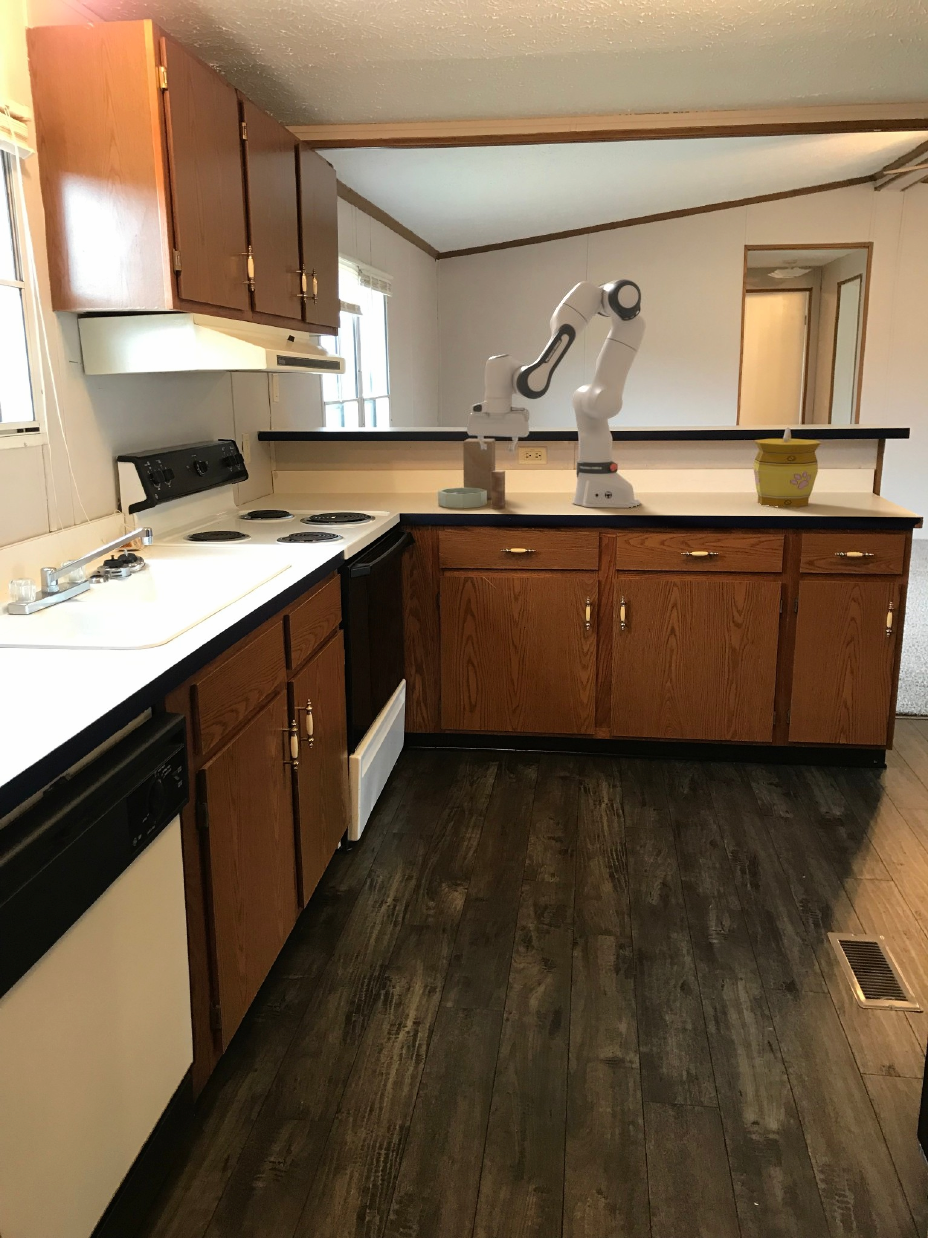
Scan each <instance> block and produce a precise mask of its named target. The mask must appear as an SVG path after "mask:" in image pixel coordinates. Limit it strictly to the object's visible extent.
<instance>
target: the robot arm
mask: <svg viewBox="0 0 928 1238" xmlns="http://www.w3.org/2000/svg"><path fill="white" fill-rule="evenodd" d="M641 303H642V293H641V288H640V287H639V285H638V284H636V283H635V281H632V280H629V279H616V280H615V279H614V280H611V281H610V282H606V283H602V284H600V285H598V286H597V285H596V284H595V283H593V282H591V281H587V280H583V281H580V282H579V283H577V284H576V285H575V286H574V287H573V288H572V289H571V290H570V291H569V292H568V293H567V294H566V296H564V298H563V299H562V300H561V302H560V303H559V304H558V306H557V307H556V309H555V310H554V312H553V313H552V316H551V317H550V321H549V329H550V331H551V337H550V339H549V341H548V343H547V344H546V346H545V348H544V349H543V351H541V353H540V355H539V357H538V358H537V360H535V362H533V363H531V364H530V365H527V364H525V363H522V362H520V361H518V360H516V359H515V358H513V357H512V356H511V355H510V354H509V353H508V354H507V353H506V354H499V355H498V354H497V355H493V356H491V357H489V358H488V359H487V360H486V364H485V368H484V386H485V393H484V401H482V402H478V403H476V404H472V405H471V406H470V407H469V410H470V414H469V415H468V418H467V425H466V432H467V434H468V436H476V437H477V439H478V441H479V443H480V444H481V450H487V444H484V442H483V440H482V439H485V438H484V437H507V438H509V437H510V438H511V440H512V442H511V444H509V445H508V452H514V451H515V449H516V448H515V446H516V444H517V443H518V441H519V438H526V437H528V435H530V426H529V420H530V412H529V410H528V409H527V408H526V407H516V406H515V407H513V395H515V394H516V395H517V396H521V397H524V398H527V399H529V400H537V399H539V398H542V397H544V396H545V395H546V393H548V391H549V388H550V385H551V382H552V381H551V380H552V377H553V375H554V373H555V370H556V369H557V368H558V366H559V365H560V364H561V362H562V360H563V358H564V357H565V355H566V354H567V352H568V351H569V349H570V347H571V346H572V345H573V344H574V343H575V342H576V340H577V338H579V337H580V335H581V334H582V332H583V331H584V330H585V329H586V328H587V326H588V325H589V324H590V323H591V321H592V319H593V318H594V317H595V316H596V315H599V316H602V317H606V318H610V319H611V325H610V330H609V332H608V334H607V336H606V339H605V340H604V343H603V345H602V347H601V350H600V352H599V354H598V356H597V358H596V361H595V371H594V377H593V380H592V383H586V384H583V385H582V386H579V388H577V389H576V390H575V391H574V393H573V394H572V398H571V404H572V407H573V409H574V414H575V422H576V427H577V434H578V456H577V457H578V459H577V461H576V467H575V468H576V473H575V474H576V479H577V480H576V486H575V493H574V497H573V500H572V504H575V505H578V506H583V507H584V508H617V509H618V508H625V509H626V508H627V509H628V508H629V507H631V508H634V507H633V506H636V507H638V506H637V505H639V504H640V503H641V500H640V499H638V498H635V493H634V492H635V491H634V487H633V485H632V483H630V482H629V481H628V480H626V479H625V478H624V477H623V476H622V475H620V474H619V473H618V467H619V464H618V462H617V463H616V462H615V461H613V458H612V457H613V456H612V455H613V436H612V433H611V430H610V426H609V419H611V418H614V417H615V416H617V415H618V414H619V413H620V411H621V410H622V407H623V393H624V389H625V385H626V381H627V377H628V374H629V372H630V369H631V367H632V364H633V363H634V361H635V358H636V356H637V354H638V351H639V349H640V347H641V344H642V341H643V338H644V335H645V330H646V327H647V326H646V320H645V318H643V316H641V315H640V313H641V310H642V309H641ZM640 505H641V504H640ZM640 505H639V506H640Z"/></svg>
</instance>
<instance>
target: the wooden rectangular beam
mask: <svg viewBox="0 0 928 1238" xmlns="http://www.w3.org/2000/svg"><path fill="white" fill-rule="evenodd" d="M505 508H506V471H505V470H495V471H493V472H492V499H491V509H492V510H493V509H494V510H503V509H505Z"/></svg>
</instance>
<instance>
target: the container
mask: <svg viewBox="0 0 928 1238" xmlns="http://www.w3.org/2000/svg"><path fill="white" fill-rule="evenodd" d="M754 442H755V444H756V447H757V448H758V452H757V454H756V456H755V459H754V464H753V467H752V468H753V475H754V479H755V480H754V481H755V488H756V493H757V503H758V504H759V503H760V504H761V505H769V506H778V507H796V509H798V508H803V506H804V507H807V506H809V500H810V499H809V498H810V496H811V494H812V492H813V488H814V485H815V481H816V478H817V476H818V472H819V469H818V468H819V467H818V464H819V463H818V459H817V456H816V455H817V454H816V451H817V449H818V448H819V446H820V445H821V444H822V442H821V441H818V440H816V439H815V440H814V439H801V438H792V434H791V428H790V427H786V428H785V430H784V435H783V437H782V438H765V439H755V440H754ZM760 504H759V505H760ZM761 505H760V506H761ZM769 506H768V507H769Z"/></svg>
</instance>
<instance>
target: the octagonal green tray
mask: <svg viewBox="0 0 928 1238" xmlns="http://www.w3.org/2000/svg"><path fill="white" fill-rule="evenodd" d="M455 492H470V493H468V494H455ZM487 501H488V499H487V490H484V489H480V488H464V487H462V486H461V487H450V488H448V487H447V488H442V489H440V490H438V491H437V502H438V503H437V505H438V506H440V507H444V508H452V509H453V508H454V509H455V508H456V509H469V508H480V507H483V506H486V505H487V504H488V502H487Z"/></svg>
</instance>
